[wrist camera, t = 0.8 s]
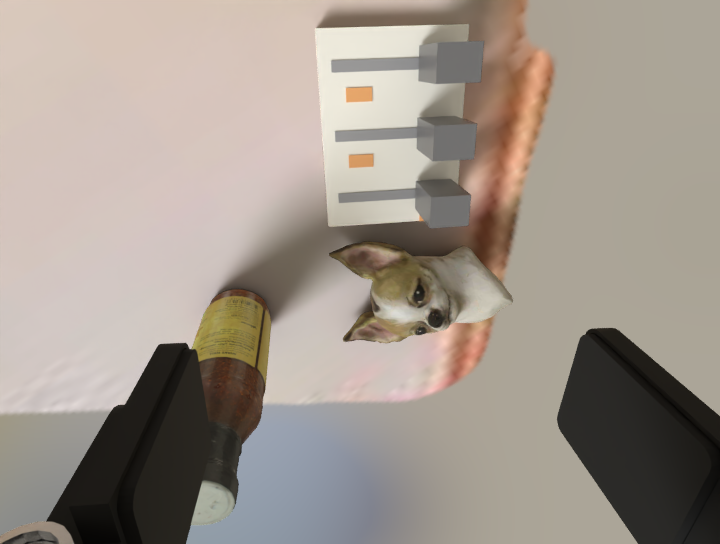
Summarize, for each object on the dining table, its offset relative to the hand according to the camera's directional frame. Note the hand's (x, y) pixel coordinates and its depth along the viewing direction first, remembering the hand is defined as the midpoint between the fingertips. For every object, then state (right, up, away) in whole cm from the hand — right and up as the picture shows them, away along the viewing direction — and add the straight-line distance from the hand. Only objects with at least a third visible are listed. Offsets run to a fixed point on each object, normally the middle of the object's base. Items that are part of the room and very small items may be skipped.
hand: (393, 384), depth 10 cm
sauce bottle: (-12, -1, +31) cm, 34 cm away
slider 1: (+5, +19, +22) cm, 29 cm away
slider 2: (+5, +14, +24) cm, 28 cm away
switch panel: (+2, +14, +25) cm, 29 cm away
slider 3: (+5, +10, +26) cm, 29 cm away
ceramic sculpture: (+4, +2, +32) cm, 32 cm away
